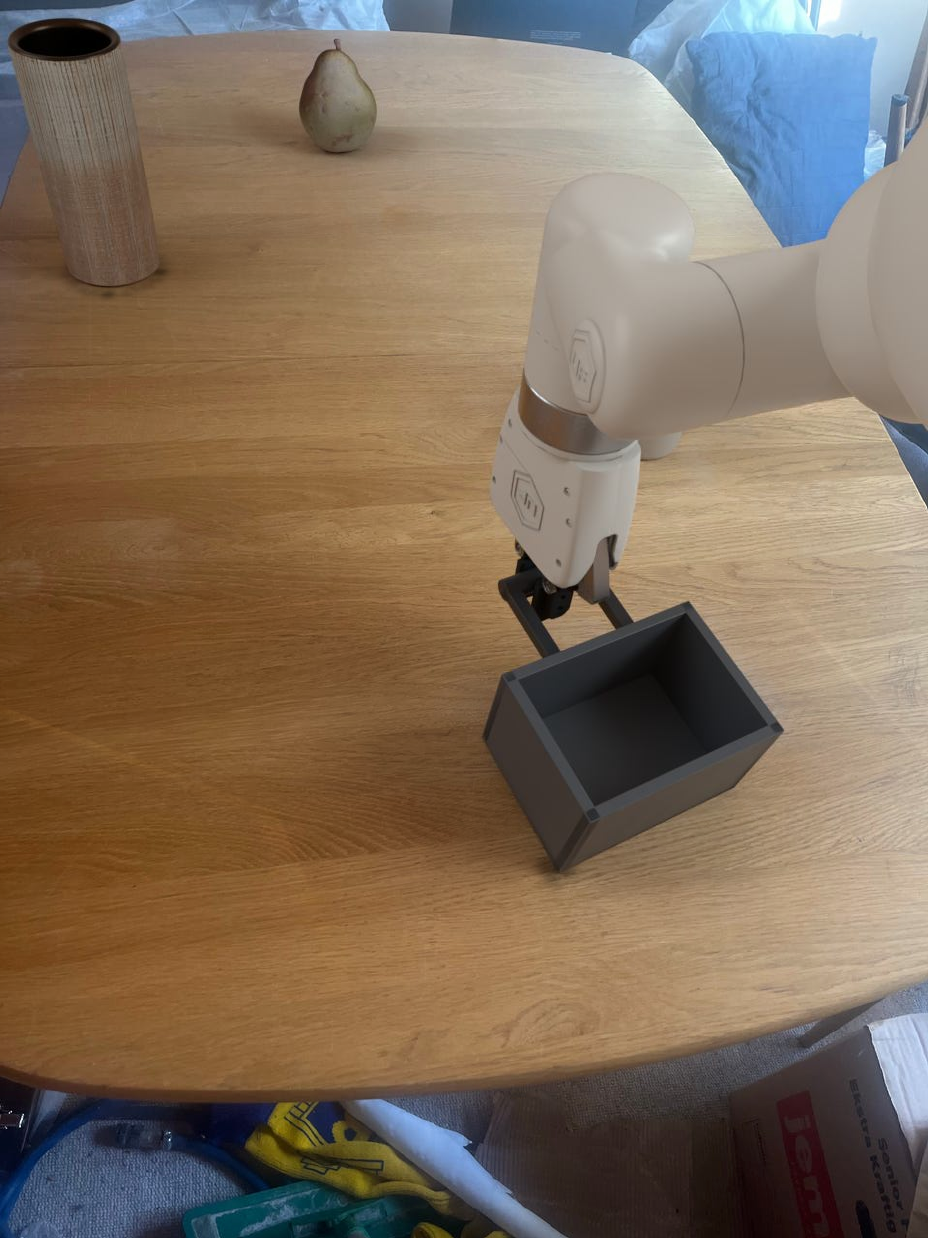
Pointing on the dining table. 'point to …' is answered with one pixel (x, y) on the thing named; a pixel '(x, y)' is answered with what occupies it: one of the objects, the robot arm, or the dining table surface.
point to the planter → (87, 147)
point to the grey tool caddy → (621, 725)
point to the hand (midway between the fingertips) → (540, 602)
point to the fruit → (337, 103)
